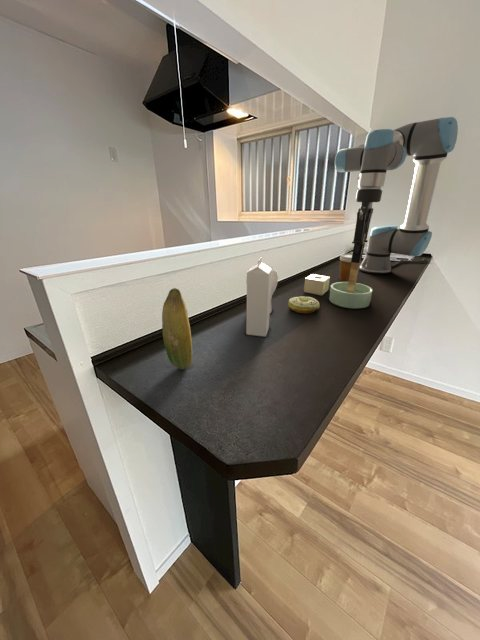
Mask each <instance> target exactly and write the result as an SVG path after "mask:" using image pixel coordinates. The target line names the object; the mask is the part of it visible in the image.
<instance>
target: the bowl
mask: <svg viewBox="0 0 480 640" xmlns="http://www.w3.org/2000/svg"><path fill="white" fill-rule="evenodd" d="M347 286H348V282H342V281H338V282H333V283H331V285H330V290H329V295H328V300H329V301H330V303H331V304H333V305H335V306H338V307H341V308H347V309H364V308H367V307H369V306H370V305H371V300H372V296H373V291H374V290H373V287H371V286H369V285H366V284H363V283H360V282H356V286H355V291H354V293H347Z"/></svg>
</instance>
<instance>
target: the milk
mask: <svg viewBox="0 0 480 640" xmlns="http://www.w3.org/2000/svg"><path fill="white" fill-rule="evenodd" d="M270 267H271V266H268V265H267V264H266V263H264V262H263V257H262V256H260V258H259V259H258V260H257V264H255V265H253V266H251V267H250V268H251V269H250V270H249V271H248V270H247V272H246V277H247V283H246V321H245V323H246V326H245V327H246V329H245V330H246V332H245V333H246V334H245V335H247V336H257V337H263V338H264V337H265V338H267V335H268V332H269V329H270V317H271V313H270V296H271V276H272V268H273V267H272V268H270Z"/></svg>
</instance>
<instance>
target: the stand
mask: <svg viewBox="0 0 480 640" xmlns="http://www.w3.org/2000/svg"><path fill="white" fill-rule="evenodd" d="M330 280H331V276H326V275H320V274H316V273H315V274H314V273H311V274H310V275H308V276H307V277H305V279H304V287H303V293H308V294H313V295H318V296H323V295H325V293H326V292H328V291H329V286H330Z"/></svg>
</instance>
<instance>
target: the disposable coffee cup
mask: <svg viewBox="0 0 480 640" xmlns="http://www.w3.org/2000/svg"><path fill="white" fill-rule="evenodd" d="M352 254H353V253H343V254H341V255H340V257H339V260H340V261H339V282H348V280H349V275H350V269H351V264H352V262H351V259H352Z"/></svg>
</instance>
